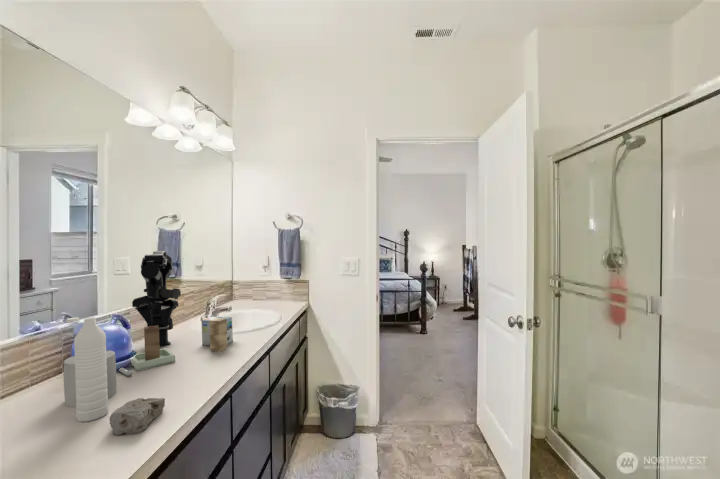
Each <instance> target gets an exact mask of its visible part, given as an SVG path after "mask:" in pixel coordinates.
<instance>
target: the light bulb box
mask: <svg viewBox="0 0 720 479" xmlns="http://www.w3.org/2000/svg"><path fill="white" fill-rule="evenodd" d="M216 318H226V319H227V345H228V344H230V343H232V342H233V340H234V335H233V316H208V317H206V318H202V319H201V342H202V343H201V345H202V346H210V320H213V319H216Z"/></svg>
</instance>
